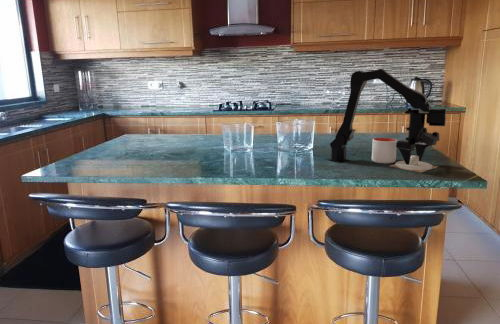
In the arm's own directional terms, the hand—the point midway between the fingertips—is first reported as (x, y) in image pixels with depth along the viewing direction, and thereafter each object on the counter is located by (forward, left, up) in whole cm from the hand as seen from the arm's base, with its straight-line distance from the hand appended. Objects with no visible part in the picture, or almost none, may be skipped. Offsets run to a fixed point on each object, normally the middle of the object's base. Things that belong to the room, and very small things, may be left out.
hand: (413, 162), depth 160 cm
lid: (0, 0, -2) cm, 2 cm away
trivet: (0, 0, -2) cm, 2 cm away
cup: (0, +14, -2) cm, 14 cm away
